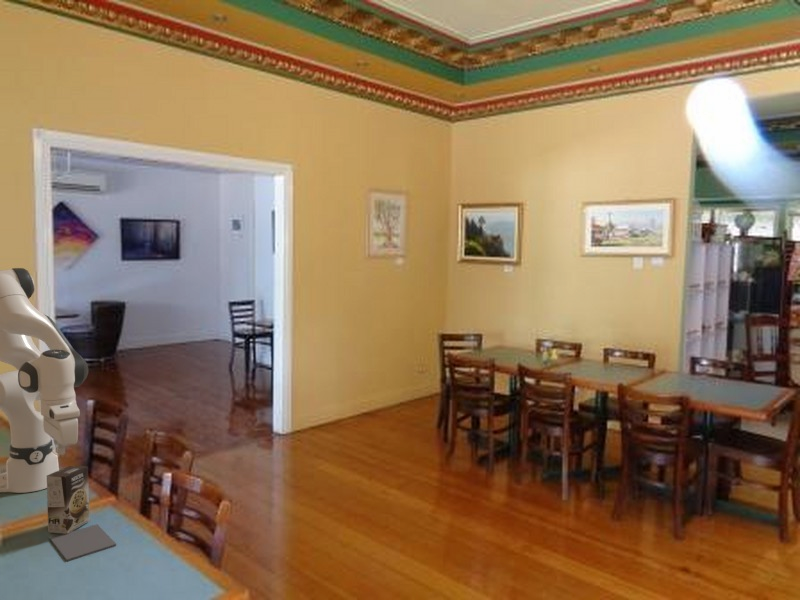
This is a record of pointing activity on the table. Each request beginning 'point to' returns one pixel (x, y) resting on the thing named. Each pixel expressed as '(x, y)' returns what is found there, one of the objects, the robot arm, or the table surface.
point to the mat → (82, 542)
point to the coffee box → (68, 499)
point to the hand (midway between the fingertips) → (60, 453)
